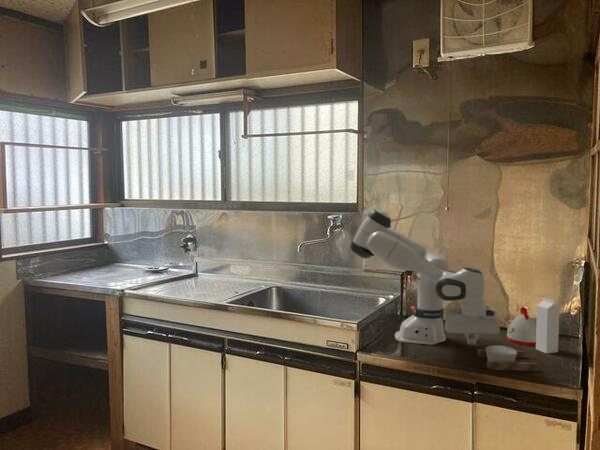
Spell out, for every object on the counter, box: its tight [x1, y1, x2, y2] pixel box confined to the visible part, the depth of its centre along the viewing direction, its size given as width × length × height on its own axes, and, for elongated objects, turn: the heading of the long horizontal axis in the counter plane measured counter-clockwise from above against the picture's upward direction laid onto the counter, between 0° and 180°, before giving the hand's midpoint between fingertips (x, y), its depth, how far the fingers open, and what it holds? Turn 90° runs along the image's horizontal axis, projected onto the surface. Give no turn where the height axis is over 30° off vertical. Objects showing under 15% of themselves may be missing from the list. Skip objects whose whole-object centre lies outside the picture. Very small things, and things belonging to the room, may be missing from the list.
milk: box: [535, 297, 560, 354], centre depth 206 cm, size 6×6×22 cm
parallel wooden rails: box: [476, 348, 539, 372], centre depth 193 cm, size 18×16×2 cm
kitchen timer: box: [506, 306, 537, 347], centre depth 220 cm, size 14×14×15 cm
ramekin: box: [485, 344, 517, 362], centre depth 194 cm, size 11×11×5 cm
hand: (471, 344), depth 194 cm, fingers closed
